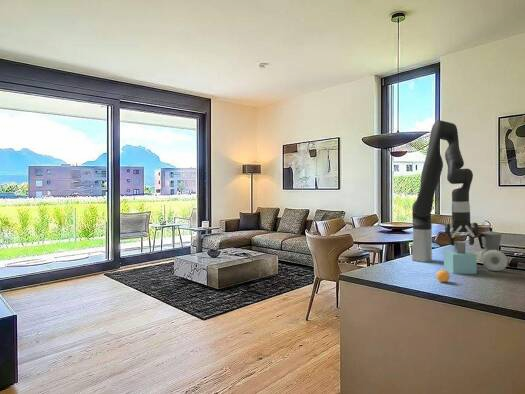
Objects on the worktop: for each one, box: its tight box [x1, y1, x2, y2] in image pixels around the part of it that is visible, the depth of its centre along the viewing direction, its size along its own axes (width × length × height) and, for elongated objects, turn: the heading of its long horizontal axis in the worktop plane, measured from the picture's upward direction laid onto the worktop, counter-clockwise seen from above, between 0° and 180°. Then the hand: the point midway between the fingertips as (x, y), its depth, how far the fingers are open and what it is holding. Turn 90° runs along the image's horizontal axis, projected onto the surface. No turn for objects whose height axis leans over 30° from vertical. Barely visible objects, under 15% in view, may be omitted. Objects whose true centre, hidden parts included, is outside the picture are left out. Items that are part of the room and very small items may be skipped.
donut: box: [482, 250, 508, 272], centre depth 164 cm, size 10×4×10 cm, turn 50°
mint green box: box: [443, 240, 478, 275], centre depth 165 cm, size 10×10×14 cm
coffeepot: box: [477, 227, 503, 264], centre depth 181 cm, size 15×9×18 cm, turn 110°
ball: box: [436, 269, 451, 283], centre depth 148 cm, size 5×5×5 cm
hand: (461, 245), depth 165 cm, fingers open, 8 cm apart
